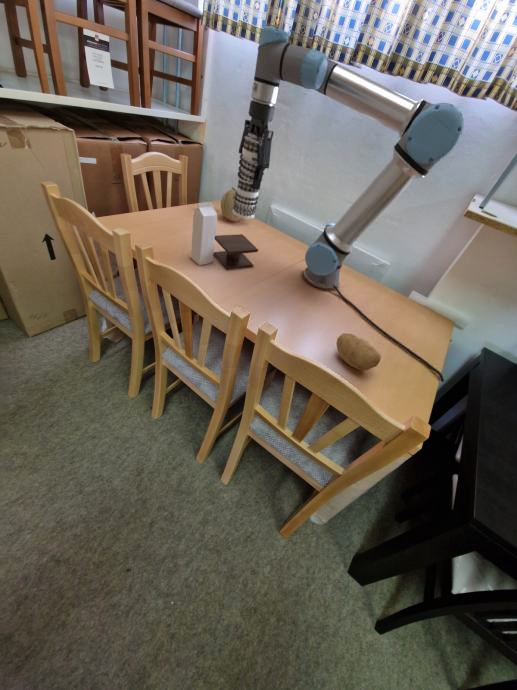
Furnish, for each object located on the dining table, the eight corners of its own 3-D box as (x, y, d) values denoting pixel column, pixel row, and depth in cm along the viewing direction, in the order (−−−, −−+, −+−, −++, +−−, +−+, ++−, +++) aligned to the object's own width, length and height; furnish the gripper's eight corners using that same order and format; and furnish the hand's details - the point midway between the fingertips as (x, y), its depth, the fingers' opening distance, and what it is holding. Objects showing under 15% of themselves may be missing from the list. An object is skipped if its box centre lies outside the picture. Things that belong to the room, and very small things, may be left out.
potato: (341, 342, 97) (351, 323, 92) (377, 369, 91) (390, 351, 86) (324, 353, 91) (334, 334, 86) (361, 383, 85) (374, 364, 80)
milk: (212, 262, 116) (219, 205, 102) (199, 265, 113) (204, 207, 98) (203, 255, 119) (208, 198, 104) (190, 258, 115) (194, 199, 101)
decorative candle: (258, 213, 113) (274, 137, 96) (251, 221, 106) (267, 140, 89) (236, 206, 113) (248, 128, 97) (228, 213, 107) (239, 131, 90)
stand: (254, 267, 121) (258, 249, 115) (226, 270, 114) (229, 251, 109) (239, 251, 128) (242, 234, 122) (212, 254, 121) (214, 235, 116)
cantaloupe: (242, 229, 146) (248, 197, 136) (214, 220, 146) (218, 188, 136) (250, 219, 157) (256, 190, 147) (224, 211, 157) (228, 181, 147)
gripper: (235, 92, 92) (225, 172, 107) (271, 108, 80) (255, 195, 95) (255, 97, 95) (243, 173, 111) (293, 113, 84) (273, 196, 99)
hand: (248, 183), depth 103 cm, fingers closed on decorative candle, 9 cm apart
